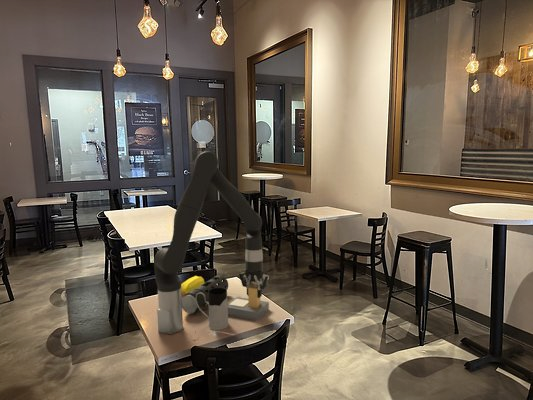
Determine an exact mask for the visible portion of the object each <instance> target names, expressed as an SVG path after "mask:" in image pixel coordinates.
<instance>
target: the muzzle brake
mask: <svg viewBox="0 0 533 400" xmlns="http://www.w3.org/2000/svg"><path fill="white" fill-rule="evenodd" d="M214 288H224V289H226V290H227V291H228V289H229V281H228V279H227V278H226V277H225V276H224V275H221V274H217V275H215V276H213V277H212V278H211V279H209V280H207V281H204V284H202V285H201V286H199V287H197V288H196V289H194V290H191V291H189V292H188V293H186V294H185V295H184V296H182V311H183V312H185V313H186V314H196V313H198V312H199V311H200V310H199V308H198V307H197V304H196V299H195V298H196V294H197V303H198V305H199V307H200V309H201V310H202V309H203V308H205V307H206V306H207V305H208V304H207V303H206V302H209V290H211V289H214ZM200 292H201V293H203V294H204V295H205V296H206V302H205V298H204V296H203V295H202V294H198V293H200ZM200 312H201V311H200Z"/></svg>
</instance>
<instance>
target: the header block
mask: <svg viewBox="0 0 533 400" xmlns="http://www.w3.org/2000/svg"><path fill="white" fill-rule="evenodd" d="M269 303H270V301H264V300H260V307H259V308H258V309H256V308H250V307H249V300H248V297H241V296H240V297H239V296H236V297H235V298H233V300H232V301H230V302H228V316H231V317H235V318H236V317H237V318H241V319H247V320H253V321H257V322H258V321H259V320H260V319H261V318H262V317H264V315H265V314H266V313H267V312H268V311H269V309H270V308H269V307H270V305H269Z"/></svg>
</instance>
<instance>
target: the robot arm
mask: <svg viewBox="0 0 533 400" xmlns="http://www.w3.org/2000/svg"><path fill="white" fill-rule="evenodd" d="M193 165H194V169H193V171H192V176H191V179H190V182H189V183H188V185H187V187H186V188H185V191H183V194H182V196H181V198H180V200H179V202H178V205H177V207H176V210H175V213H174V218H173V230H172V237H171V241H170V244H169V246H168V247H163V248H160V249H158V251H157V252H156V253H155V256H154V259H153V265H154V266H153V268H154V269H153V270H154V277H155V278H154V279H155V282H156V283H155V284H156V286H157V299H158V308H157V310H156V311H157V312H156V315H157V329H158V330H157V331H158V332H159V333H162V334H165V335H166V334H167V335H172V334H175V333H177V332H180V331H181V330H183V328H184V321H183V319H184V317H183V309H182V298H183V296H182V292H181V284H182V281H181V279H180V277H179V274H178V272H180V270H181V269H182V268H183V265H184V264H185V259H186V254H187V251H188V247H189V243H190V240H191V237H192V235H193V233H194V230H195V227H196V224H197V222H198V220H199V217H200V214H201V212H202V208H203V205H204V202H205V200H206V199H205V198H206V195H207V190H208V188H209V185H210V184H211V185H212V186H213V188H214V189H215V190H217V192H218V193H219V195H220V196H221V198H223V199H224V200H225V202H226V203H227V204H228V205H229V206H230V208H231V209H232V210H233V212H235V214H236V215H237V216H238V217H239V219H240V221H241V222H242V223H243V224H244V226H245V236H246V237H245V253H244V257H245V267H244V271H242V272H240V273H238V276H239V279H240V282H241V286H242V287H244V288H246V295H247V296H248V285H250V283H252V282H256V285H257V287H258V298H260V299H261V297H262V296H263V290H264V289H266V287H267V285H268V283H269V279H270V275H269V274H264V271H263V268H264V266H263V265H264V264H263V262H264V261H263V259H264V256H263V255H264V253H263V239H262V226H263V220H262V217H261V215H260V214H259V213H257V212H256V211H255V210H254V209H253V207H252V206H251V204H250V203H249V200H247V199H246V197H245V196H244V195H243V193H242V192H241V191H240V190H239V189H238V188H237V187H236V186H234V185H233V184H232V183H231V182H230V181H229V180H228V179H227V178H226V177H225V175H224V173H222V172H221V170H220V169H219V159H218V156H217V155H216V154H215V153H214V152H212V151H209V150H207V151H203V152H201V153H199V154H198V155H197V156H196V158H195V160H194V162H193ZM262 279H263V282H262Z"/></svg>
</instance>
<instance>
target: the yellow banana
mask: <svg viewBox="0 0 533 400" xmlns="http://www.w3.org/2000/svg"><path fill="white" fill-rule="evenodd" d="M204 283H205V279H204V278H203V277H202V276H197V275H194V276H192V277H190V278H188V279H187V280H185V281H183V282H181V292H182V297H183V296H184V295H185V294H186V293H188V292H189V291H191V290H194V289H196V288H197V287H199V286H201V285H202V284H204Z"/></svg>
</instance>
